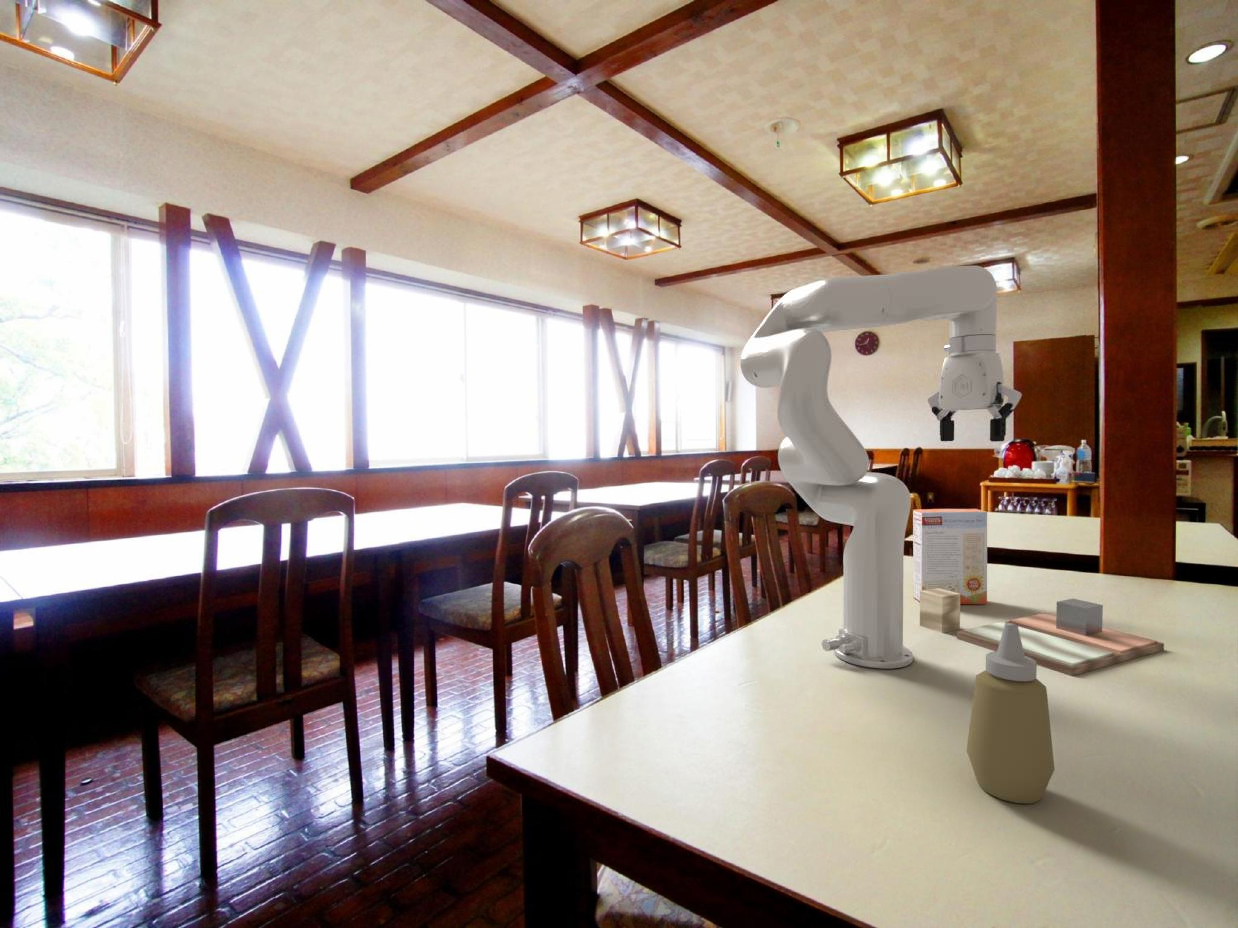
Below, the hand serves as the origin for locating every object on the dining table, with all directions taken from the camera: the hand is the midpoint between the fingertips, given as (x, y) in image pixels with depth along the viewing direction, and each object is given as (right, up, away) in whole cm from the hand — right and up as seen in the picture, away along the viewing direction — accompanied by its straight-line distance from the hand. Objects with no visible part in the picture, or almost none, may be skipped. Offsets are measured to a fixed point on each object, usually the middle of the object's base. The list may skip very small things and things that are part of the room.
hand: (971, 441), depth 115 cm
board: (+14, -37, -3) cm, 39 cm away
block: (-2, -36, +7) cm, 37 cm away
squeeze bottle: (-23, -40, -48) cm, 66 cm away
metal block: (+19, -35, -1) cm, 40 cm away
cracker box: (+9, -36, +26) cm, 45 cm away
